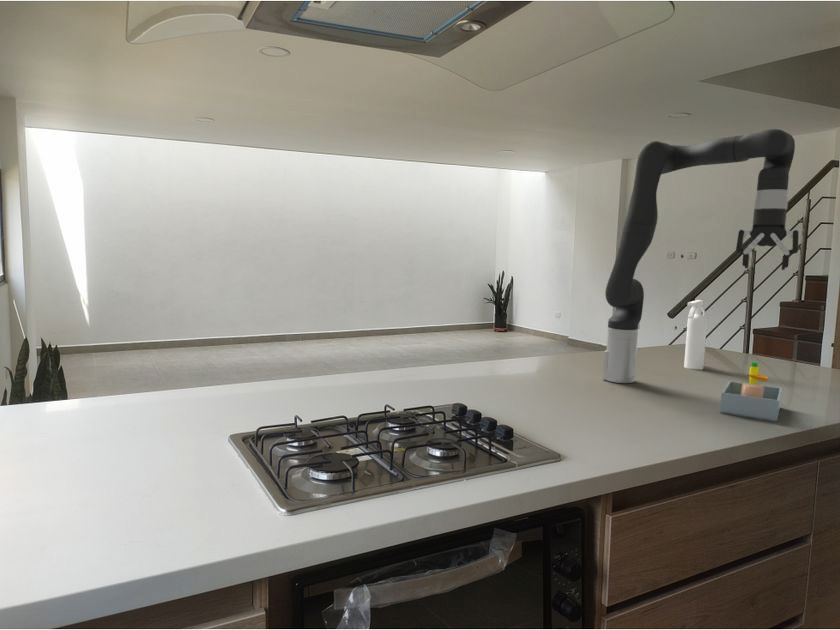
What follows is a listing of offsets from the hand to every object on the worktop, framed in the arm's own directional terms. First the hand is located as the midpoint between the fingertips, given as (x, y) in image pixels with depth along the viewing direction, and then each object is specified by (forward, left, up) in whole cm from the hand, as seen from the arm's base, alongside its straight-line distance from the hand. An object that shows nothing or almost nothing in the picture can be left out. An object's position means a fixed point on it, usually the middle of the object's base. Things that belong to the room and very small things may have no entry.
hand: (764, 269), depth 157 cm
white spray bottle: (-22, +50, -38) cm, 66 cm away
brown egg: (0, -8, -38) cm, 38 cm away
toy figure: (0, 0, -38) cm, 38 cm away
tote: (0, -4, -38) cm, 38 cm away
